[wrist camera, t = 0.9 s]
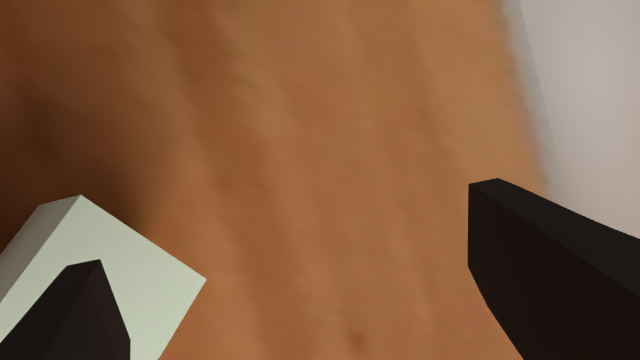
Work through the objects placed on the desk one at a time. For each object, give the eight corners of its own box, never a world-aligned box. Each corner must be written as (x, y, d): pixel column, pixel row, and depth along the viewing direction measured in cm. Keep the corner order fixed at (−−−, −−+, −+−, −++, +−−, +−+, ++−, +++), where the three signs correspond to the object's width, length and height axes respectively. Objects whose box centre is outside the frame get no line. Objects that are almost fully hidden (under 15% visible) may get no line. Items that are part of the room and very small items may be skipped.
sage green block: (70, 374, 22) (121, 419, 16) (-47, 314, 20) (-31, 343, 15) (139, 269, 23) (206, 278, 18) (38, 204, 22) (80, 194, 16)
